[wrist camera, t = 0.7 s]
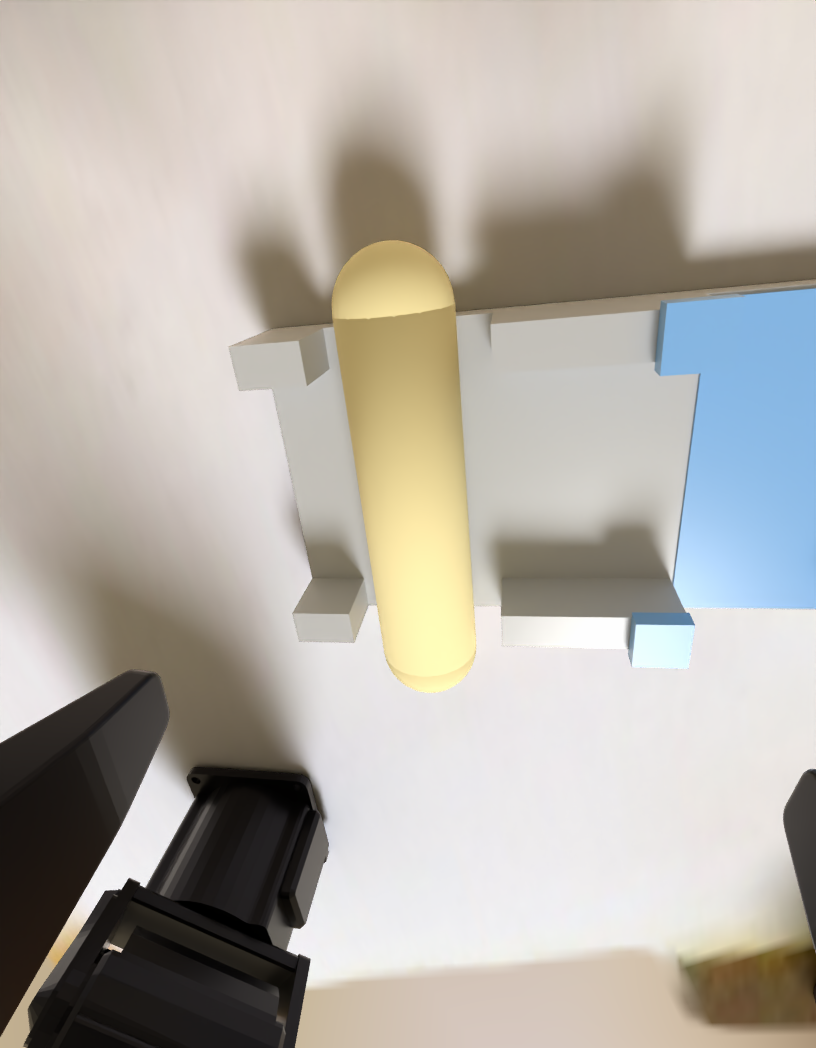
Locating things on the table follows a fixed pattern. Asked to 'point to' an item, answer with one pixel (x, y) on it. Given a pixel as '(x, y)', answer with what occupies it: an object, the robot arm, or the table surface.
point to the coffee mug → (814, 993)
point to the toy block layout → (588, 465)
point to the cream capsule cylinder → (409, 456)
